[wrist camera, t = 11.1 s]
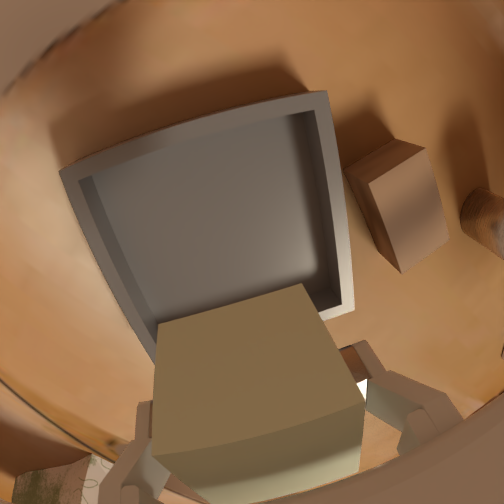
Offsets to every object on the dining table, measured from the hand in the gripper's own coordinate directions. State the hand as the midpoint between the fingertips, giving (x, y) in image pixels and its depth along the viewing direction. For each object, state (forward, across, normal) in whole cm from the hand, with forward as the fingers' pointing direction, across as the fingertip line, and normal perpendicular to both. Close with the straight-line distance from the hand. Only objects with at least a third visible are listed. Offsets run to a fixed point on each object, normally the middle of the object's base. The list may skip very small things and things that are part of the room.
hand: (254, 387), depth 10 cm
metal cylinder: (+14, -24, +5) cm, 28 cm away
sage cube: (+2, 0, 0) cm, 2 cm away
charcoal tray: (+14, 0, 0) cm, 14 cm away
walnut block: (+14, -13, +1) cm, 19 cm away
